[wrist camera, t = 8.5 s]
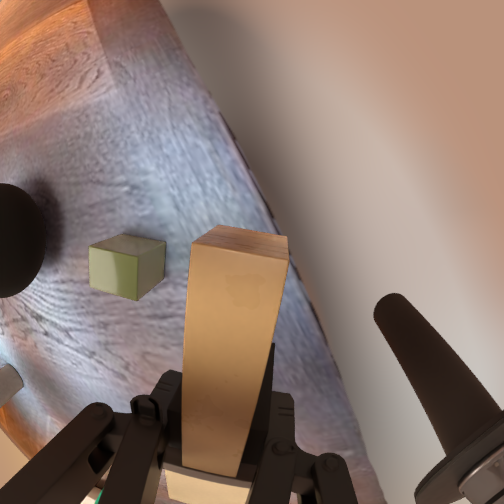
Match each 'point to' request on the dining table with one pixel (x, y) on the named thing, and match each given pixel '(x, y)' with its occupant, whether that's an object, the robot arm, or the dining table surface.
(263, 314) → the fork
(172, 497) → the linen napkin
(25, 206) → the decorative ball
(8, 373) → the grey cylinder
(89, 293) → the dining table surface
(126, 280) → the knife rest
